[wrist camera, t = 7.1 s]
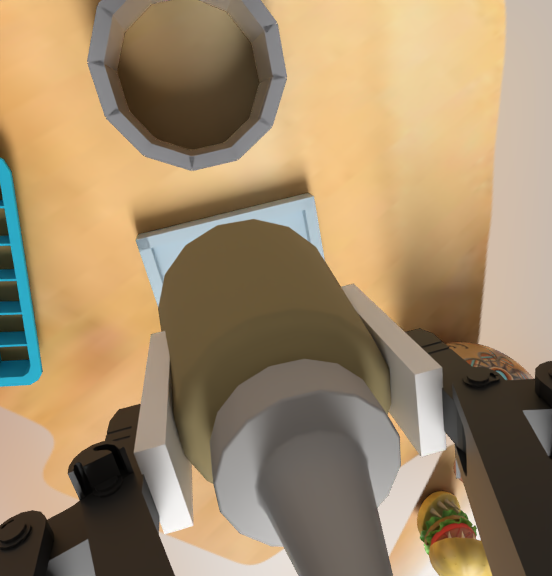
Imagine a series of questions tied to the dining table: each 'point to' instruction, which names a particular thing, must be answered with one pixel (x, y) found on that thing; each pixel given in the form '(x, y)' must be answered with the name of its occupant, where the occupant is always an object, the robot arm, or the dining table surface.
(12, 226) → the ice cube tray
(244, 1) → the grey faceted ring
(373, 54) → the dining table surface
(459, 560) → the hamburger
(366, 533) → the squeeze bottle
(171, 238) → the tray
